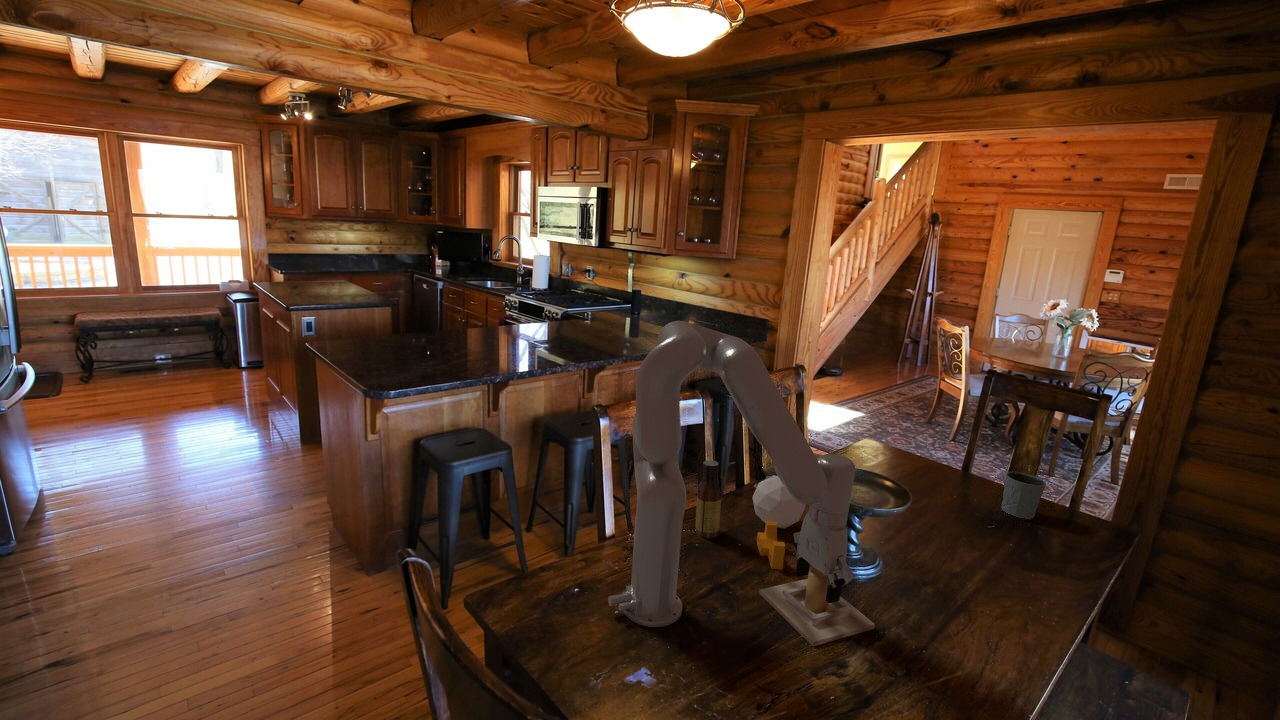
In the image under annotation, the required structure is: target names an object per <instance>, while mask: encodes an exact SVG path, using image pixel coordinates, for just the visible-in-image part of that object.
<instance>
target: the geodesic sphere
mask: <svg viewBox="0 0 1280 720" xmlns="http://www.w3.org/2000/svg"><path fill="white" fill-rule="evenodd" d="M765 477H766V478H765V479H764V480H762V481H759V482H757V483H755V484H754V485H753V486H752V487H753V488H755V491H754V493H753V496H752V501H753V502H752V503H753V507H754V512H755V513H754V514H755V515H756V516H757V517H758V518H759V519H760V520H761V521H762V522H763V523H764V524H765V525H766V521H771V522H776V523H777V529H778V528H780V529H786V528H788V527H790V526H792V525H794V524H796V523H798V522H800V520H801V518H802V515H803V513H804V510H805V508H806V505H807V504H803V503H800V502H798V501H796V500H795V499H794V498H793V497H792V496H791V494H790V493H789V491H788V490H787V488H786V487H785V486H784V485H783V483H782V482H781V480H780V479H779V477H778V476H777V475H771V476H769V475H767V476H765Z"/></svg>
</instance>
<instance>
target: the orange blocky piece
mask: <svg viewBox="0 0 1280 720" xmlns="http://www.w3.org/2000/svg"><path fill="white" fill-rule="evenodd" d="M756 543H757V548H758V552H759V554H760V556H763V557H764V556H765V557H767V558H768V561H769V565H770V568H771V570H783V568H784V562H785V561H784V560H785V552H786V544H785V542H784V541H778V527H777V523H776V522H771V521H766V524H765V527H764V532H760V531H757V535H756Z"/></svg>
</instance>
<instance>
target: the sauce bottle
mask: <svg viewBox="0 0 1280 720" xmlns="http://www.w3.org/2000/svg"><path fill="white" fill-rule="evenodd" d="M719 467H720V464H719V462H718V461H716V460H711V459H710V460H709V459H708V460H707V459H706V460H704V461H703V463H702V469H703V470H702V472H703V473H702V479H701V480H700V482H699V484H698V486H697V496H696V510H695V511H696V513H695V533H696V534H697V535H698V536H700V537H702V538H705V539H714V538H716V537H718V535H719V530H720V526H721V525H720V523H721V508H722V507H721V505H722V492H721V489H720V484H719V480H718V478H719V477H718V472H719Z"/></svg>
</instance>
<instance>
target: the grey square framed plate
mask: <svg viewBox="0 0 1280 720" xmlns="http://www.w3.org/2000/svg"><path fill="white" fill-rule="evenodd" d="M807 582H808V578H804V579H801V580H800V579H799V580H795V581H791V582H787V583H783V584H782V583H781V584H779V585H773V586H769V587H765V588H762V589H759V595H760V596H761V597H762V598H763V599H764V600H765V601H766V602H767V603H768V604H769V605H771V606H772V608H773V609H775V611H776V612H777V613H778V614H779V615H780V616H781V617H782V618H783V619H785V620H786V622H788V624H790V625H791V626H792V627H793V628H794V629H795V630H796V632H798V633H799V634H800V635H801V637H803V639H805V640H806V641H807V642H808V643H809V644H810V645H811V646H812V647H815V646H819V645H823V644H826V643H831V642H833V641H836V640H841V639H844V638H847V637H851V636H854V635H857V634H860V633H865V632H868V631H872V630H875V627H876V624H875V623H874V622H872V620H870V619H869V618H868V617H866V616H865V615H864V614H863V613H862V612H860V611H859V610H858V609H857V608H856V607H854V605H852V604H851V603H850V602H848V601H847V600H846V599H845V598H843V597H842V596H841V595H840V600H839V601H837V602H833V603H827V606H826V611H825V612H823V613H815V612H812V611H810V610H808V609H807V608H806V607H805V605H804V603H805V596H806V589H807Z"/></svg>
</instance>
